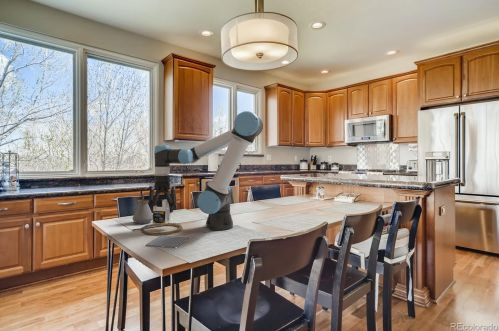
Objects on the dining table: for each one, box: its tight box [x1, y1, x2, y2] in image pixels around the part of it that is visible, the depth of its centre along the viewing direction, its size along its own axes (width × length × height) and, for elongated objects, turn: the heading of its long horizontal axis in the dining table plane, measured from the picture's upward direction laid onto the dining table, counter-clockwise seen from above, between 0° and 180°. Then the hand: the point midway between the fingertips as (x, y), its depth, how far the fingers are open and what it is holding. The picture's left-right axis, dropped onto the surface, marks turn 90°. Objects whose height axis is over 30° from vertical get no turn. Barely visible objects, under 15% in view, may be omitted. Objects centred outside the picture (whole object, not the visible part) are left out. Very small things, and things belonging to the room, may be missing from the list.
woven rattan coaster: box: [140, 222, 183, 236], centre depth 147 cm, size 20×20×1 cm
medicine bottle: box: [152, 198, 173, 224], centre depth 146 cm, size 7×7×12 cm
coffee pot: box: [132, 193, 153, 225], centre depth 166 cm, size 21×12×15 cm, turn 21°
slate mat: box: [145, 235, 189, 248], centre depth 126 cm, size 14×14×1 cm
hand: (162, 218), depth 146 cm, fingers closed on medicine bottle, 7 cm apart
